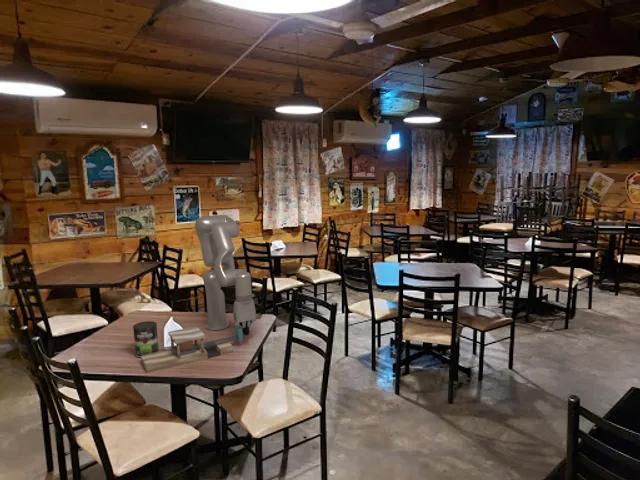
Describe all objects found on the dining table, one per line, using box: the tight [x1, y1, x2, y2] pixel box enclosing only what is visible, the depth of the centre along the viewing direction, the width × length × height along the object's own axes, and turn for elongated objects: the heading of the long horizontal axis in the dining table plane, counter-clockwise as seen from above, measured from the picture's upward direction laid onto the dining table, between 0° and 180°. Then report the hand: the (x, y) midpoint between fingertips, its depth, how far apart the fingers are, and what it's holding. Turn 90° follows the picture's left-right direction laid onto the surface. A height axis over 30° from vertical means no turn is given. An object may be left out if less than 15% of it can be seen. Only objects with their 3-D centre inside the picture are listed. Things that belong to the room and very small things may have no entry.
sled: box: [171, 324, 244, 356], centre depth 209 cm, size 9×31×6 cm, turn 121°
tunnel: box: [140, 325, 234, 374], centre depth 204 cm, size 14×38×11 cm, turn 121°
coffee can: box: [132, 320, 160, 359], centre depth 209 cm, size 10×10×14 cm
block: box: [179, 341, 194, 352], centre depth 204 cm, size 5×5×5 cm
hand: (246, 334), depth 218 cm, fingers closed
